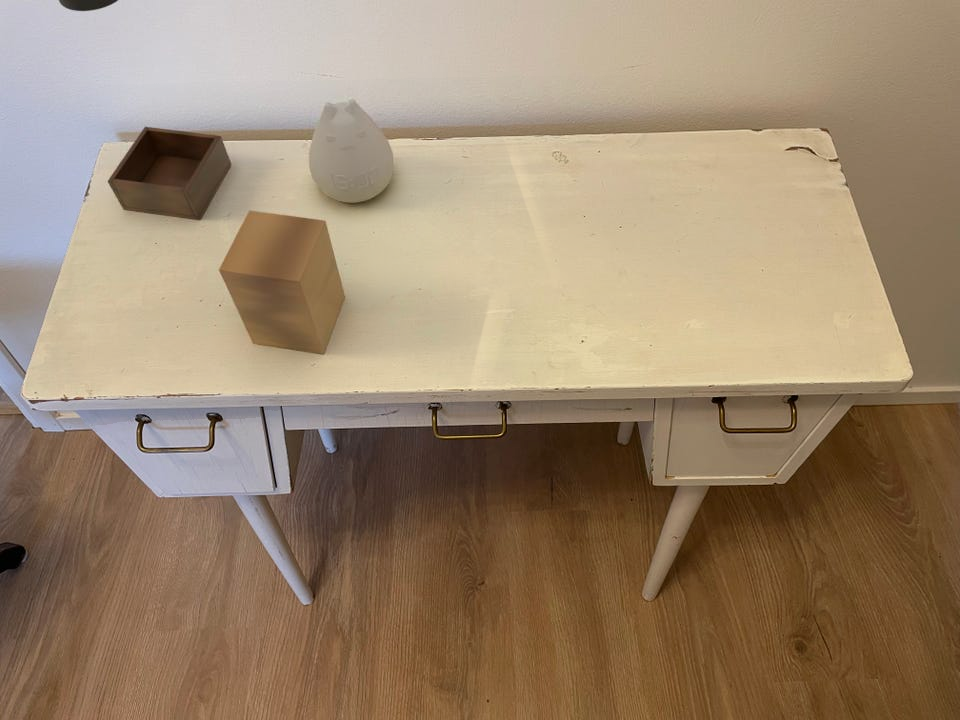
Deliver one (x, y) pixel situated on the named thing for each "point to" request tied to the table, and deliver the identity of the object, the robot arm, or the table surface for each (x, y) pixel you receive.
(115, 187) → the bin
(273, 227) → the stand
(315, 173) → the toy character
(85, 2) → the ball tube
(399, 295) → the table surface
